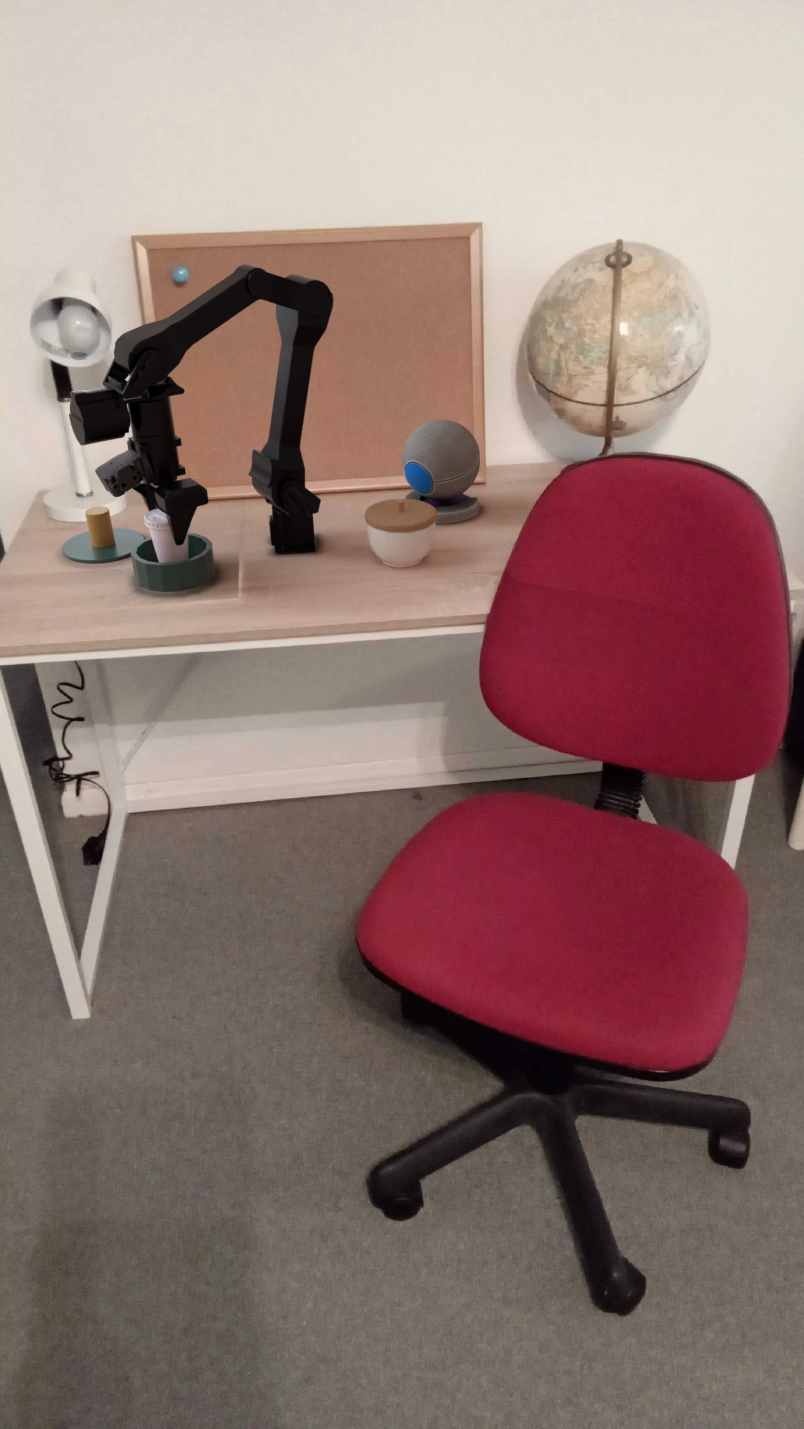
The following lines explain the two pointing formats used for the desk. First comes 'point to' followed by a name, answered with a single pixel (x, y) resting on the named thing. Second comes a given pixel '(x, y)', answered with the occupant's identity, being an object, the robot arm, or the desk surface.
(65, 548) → the lid
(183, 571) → the tin
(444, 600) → the desk surface
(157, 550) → the smoothie
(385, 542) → the trinket box
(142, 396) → the robot arm
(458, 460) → the webcam
